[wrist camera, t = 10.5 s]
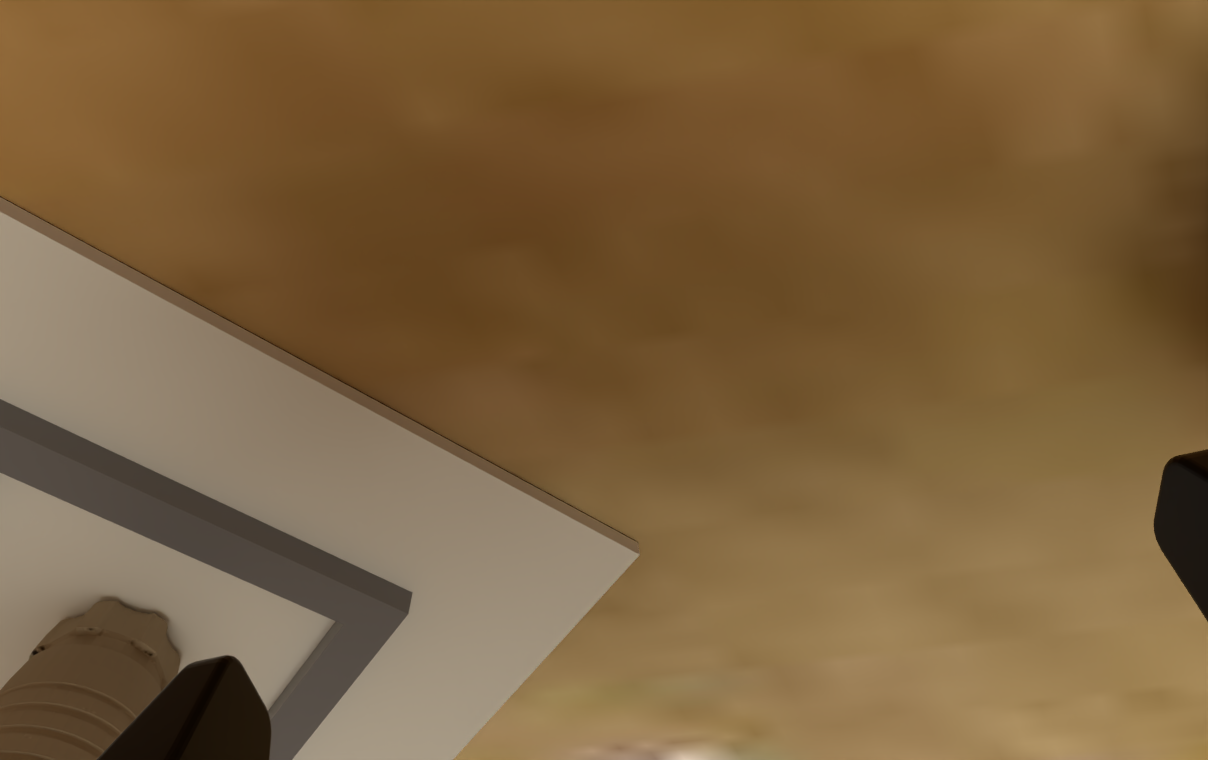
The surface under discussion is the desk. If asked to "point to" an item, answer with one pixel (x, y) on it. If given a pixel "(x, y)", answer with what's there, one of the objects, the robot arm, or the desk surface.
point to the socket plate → (266, 515)
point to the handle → (85, 684)
